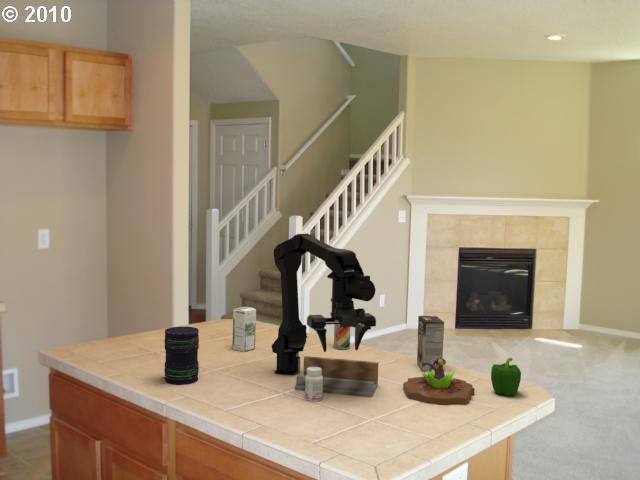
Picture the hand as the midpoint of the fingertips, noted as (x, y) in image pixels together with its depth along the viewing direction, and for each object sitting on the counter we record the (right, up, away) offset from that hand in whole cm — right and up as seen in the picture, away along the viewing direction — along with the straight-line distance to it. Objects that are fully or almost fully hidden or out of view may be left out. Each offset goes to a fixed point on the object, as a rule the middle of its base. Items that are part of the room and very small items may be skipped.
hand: (340, 351), depth 192 cm
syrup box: (-32, -7, +46) cm, 56 cm away
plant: (+28, -13, +1) cm, 30 cm away
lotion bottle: (+2, -7, +51) cm, 52 cm away
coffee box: (+29, -10, +27) cm, 41 cm away
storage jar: (-46, -10, +8) cm, 48 cm away
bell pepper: (+47, -13, +3) cm, 49 cm away
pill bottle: (-8, -12, -6) cm, 16 cm away
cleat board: (-1, -11, +4) cm, 12 cm away
